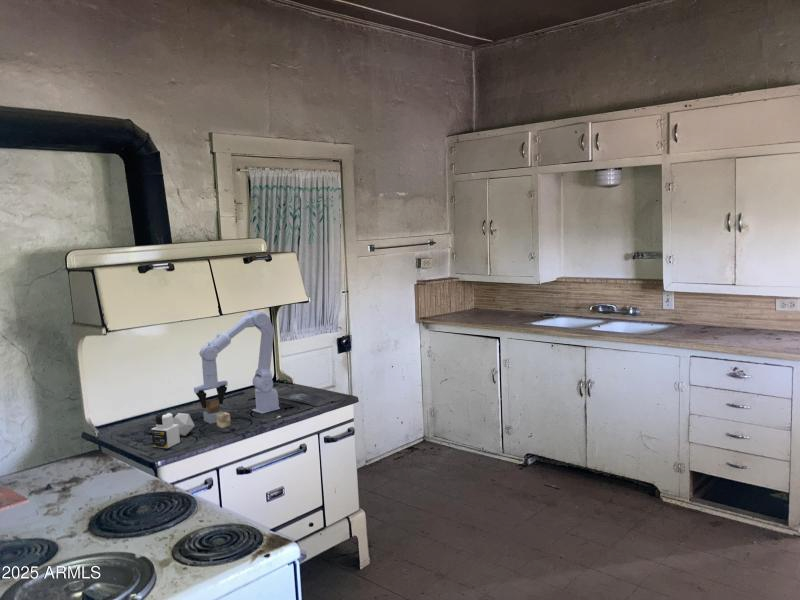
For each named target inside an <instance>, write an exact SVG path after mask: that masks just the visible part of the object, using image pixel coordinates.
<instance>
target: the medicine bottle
mask: <svg viewBox="0 0 800 600" xmlns="http://www.w3.org/2000/svg"><path fill="white" fill-rule="evenodd" d="M173 416H174V415H173V414H172V413H171V412H161V413H158V414H156V415H155V427H153V428H151V443H152V447H153V448H162V449H169V448H172V447H174V446H175V445H177V444H179V443H181V438H180V436H181V435H179V425H178V424H173V418H174V417H173Z"/></svg>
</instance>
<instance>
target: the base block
mask: <svg viewBox="0 0 800 600" xmlns="http://www.w3.org/2000/svg"><path fill="white" fill-rule="evenodd" d="M223 412H224V411H222V410H220V412H216V413H212V414H210V413H207V412H206V411H203V412H202V414H203V421H204V422H205V423H208V424H216V423H217V420H216V414H220V413H223Z"/></svg>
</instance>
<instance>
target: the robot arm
mask: <svg viewBox="0 0 800 600" xmlns="http://www.w3.org/2000/svg"><path fill="white" fill-rule="evenodd" d="M255 327H256V329H258V330H259V332H260V333H261V334H260V343H259V344H260V345H259V355H258V356H259V357H258V362H257V363H258V364H257V369H256V370H255V374H254V376H253V378H252V385H253V387H255V389H254V395H255V398H254V399H255V407H256V408H252V411H253V412H254V413H255V412H256V413H259V414H266V413H269V412H274V411H277V410H280V408H281V407H280V405H279V404H280V403H279V394H278V391H277V389H276V388H274V381H273V374H272V371H271V362H272V353H273V343H274V334H275V328H274V325H273V323H272V322H271V317H270V316H269V315H268V314H266V313H265V312H262V311H259V310H255V309H253V310H250V311H249V312H248V313H246V314H245V315H244V316H243V317H242V318H241V319H239V321H237V323H235V324H234V325H233V326H232V327H231V328H230V329H229V330H228V331H226V332H225V333H223V332H222V333H220V334H219V333H217V335H215V337H214V339H212V340H211V341H209V342H207V344H206V345H204V346H202V347H201V348H200V350H199V352H198V353H199V357H201V367H202V369H201V370H202V378H203V379H202V380H203V384H202V385H201V384H200V385H199V386H196V387H193V393H195V395H196V396H197V398H198V400H199V402H200V405H201V407H202V409H206V400H207V393H208V392H207V393H206V392H205V391H209V390H212V389H216V392H217V400H219V405H223V403H224V399H225V395H226V393H227V390H228V386H229V385H228V384H229V383H228V380H221V381H218V379H219V378H218V367H217V359H216V358H217V357H218V354H219V353H221V352H222V351H224V349H225V348H227V347H228V346H230V344H231V341H232V339H233V338H235V337H236V336H237V335H238V334H240V333H241V332H243V331H244V330H245V329H246V328H255Z"/></svg>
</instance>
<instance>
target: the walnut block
mask: <svg viewBox="0 0 800 600" xmlns="http://www.w3.org/2000/svg"><path fill="white" fill-rule="evenodd" d="M220 408H221V407H220V404H219V400H218V398H212V399H206V408H205V412H207V413H210V414H212V413H216V412H220V411H221V409H220Z"/></svg>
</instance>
